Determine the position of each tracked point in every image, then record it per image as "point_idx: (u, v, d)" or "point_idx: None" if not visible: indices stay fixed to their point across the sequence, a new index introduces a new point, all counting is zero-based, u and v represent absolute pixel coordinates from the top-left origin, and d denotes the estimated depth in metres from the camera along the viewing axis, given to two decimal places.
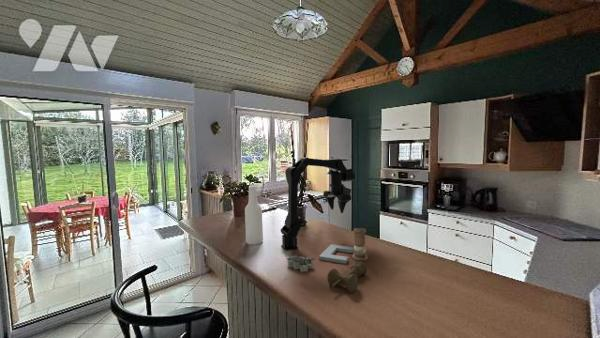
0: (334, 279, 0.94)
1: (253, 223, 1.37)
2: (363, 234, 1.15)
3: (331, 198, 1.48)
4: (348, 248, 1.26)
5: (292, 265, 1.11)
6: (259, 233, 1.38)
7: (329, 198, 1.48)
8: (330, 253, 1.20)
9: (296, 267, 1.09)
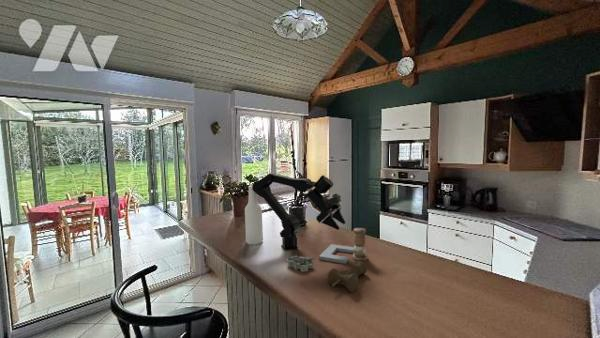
0: (335, 279, 0.94)
1: (253, 223, 1.37)
2: (363, 234, 1.15)
3: (335, 213, 1.27)
4: (348, 248, 1.26)
5: (292, 265, 1.11)
6: (259, 233, 1.38)
7: (333, 214, 1.27)
8: (330, 253, 1.20)
9: (296, 267, 1.09)
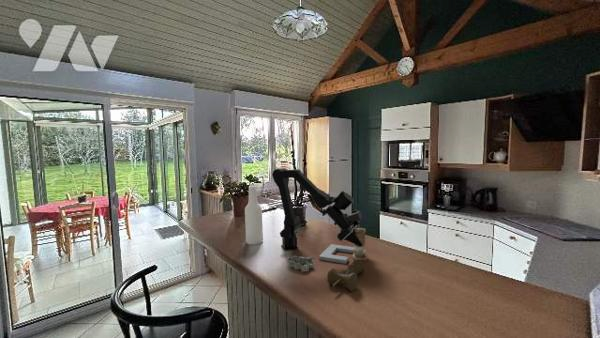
0: (334, 279, 0.94)
1: (253, 223, 1.37)
2: (363, 234, 1.15)
3: None
4: (348, 248, 1.26)
5: (292, 265, 1.11)
6: (259, 233, 1.38)
7: None
8: (330, 253, 1.20)
9: (297, 267, 1.09)
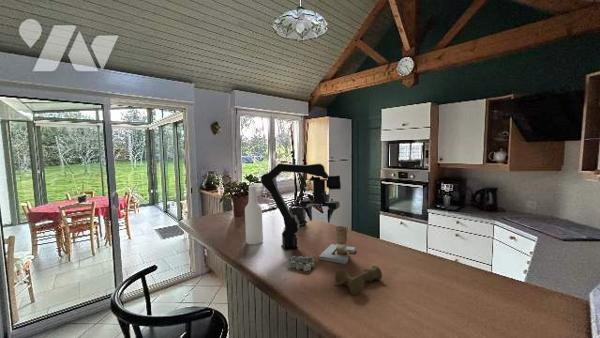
0: (341, 279, 0.94)
1: (253, 223, 1.37)
2: (345, 232, 1.19)
3: (309, 208, 1.32)
4: (348, 248, 1.26)
5: (293, 266, 1.10)
6: (259, 233, 1.38)
7: (308, 208, 1.31)
8: (330, 253, 1.20)
9: (299, 267, 1.09)
